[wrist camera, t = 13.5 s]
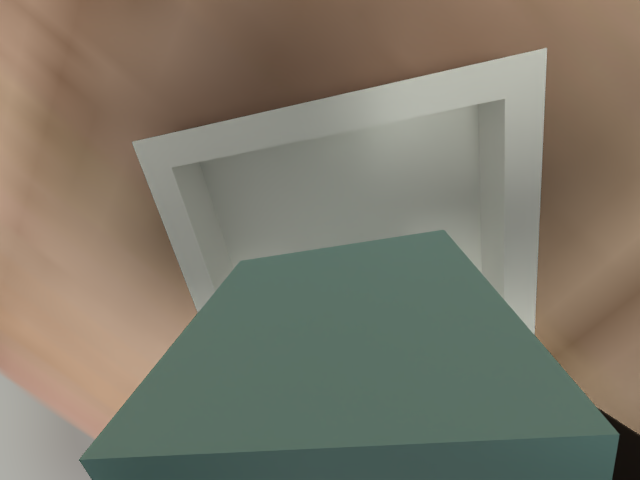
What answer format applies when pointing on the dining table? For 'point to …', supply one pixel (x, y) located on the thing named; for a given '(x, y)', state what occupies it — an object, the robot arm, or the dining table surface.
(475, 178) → the tray
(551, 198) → the dining table surface
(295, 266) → the block
